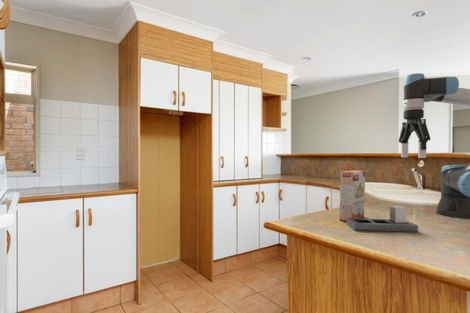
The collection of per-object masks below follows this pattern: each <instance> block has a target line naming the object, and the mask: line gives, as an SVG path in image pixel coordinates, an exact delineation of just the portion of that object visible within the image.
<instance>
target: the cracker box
mask: <svg viewBox="0 0 470 313" xmlns="http://www.w3.org/2000/svg"><path fill="white" fill-rule="evenodd" d="M339 179H340V181H339V219H338V220H340V221H343V222H347V218H364V217H365V200H366V197H365V196H366V193H365V191H366V190H365V189H366V171H365V170H345V171H340V178H339Z"/></svg>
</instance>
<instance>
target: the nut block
mask: <svg viewBox="0 0 470 313" xmlns="http://www.w3.org/2000/svg"><path fill="white" fill-rule="evenodd" d="M407 210H408V208H407V207H406V206H402V205H389V219H390V222H392V223H394V224H406V222H407V221H408V220H407V218H408V217H407V214H408V212H407Z"/></svg>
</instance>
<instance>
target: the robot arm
mask: <svg viewBox="0 0 470 313" xmlns="http://www.w3.org/2000/svg"><path fill="white" fill-rule="evenodd" d="M430 102H435V103H443V104H452V105H458V106H465V107H470V88H465V87H464V88H463V87H460V80H459V79H458V77H456V76H440V77H425V74H424V73H419V72H418V73H411V74H410V73H409V74H407V75H406V76H405V77H404V79H403V102H402V104H403V110H404V111H403V119H404V120H405V121H404V122H402V123H401V124H402V126H401V129H400V135H399V138H398V143H400V144H401V148H400V149H401V156H400V157H401V158H409V139H410V137H411V135H412V133H415V135H416V137H417V138H418V141H417V142H418V145H417V146H418V147H417V148H418V154H417V156H418V157H417V158H418V159H425V158H426V159H427V143H428V141H431V136H430V133H429V129H428V125H427V120H426V118H424V116H425V112H424V110H425V109H424V108H425V103H430ZM440 175H441V177H440V179H441V180H440V184H441V186H440V187H441V188H440V190H441V191H440V194H441V195H440V199H439V202H438V204H437V206H436V213H437V214H438V215H441V216H446V217H447V216H448V217H454V218H460V219H470V162H468V163H467V164H449V165H447V164H446V165H443V166H442V167H441V172H440Z"/></svg>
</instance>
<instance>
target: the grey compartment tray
mask: <svg viewBox="0 0 470 313" xmlns="http://www.w3.org/2000/svg"><path fill="white" fill-rule="evenodd" d="M346 225H347V226H349V227H350V228H351V229H352V230H353V231H356V232H387V233H388V232H390V233H392V232H393V233H394V232H395V233H418V232H419V225H418V224H415V223H413V222H412V221H409V220H407V222H406V224H394V223H392V222H390V218H364V217H363V218H347V221H346Z"/></svg>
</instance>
